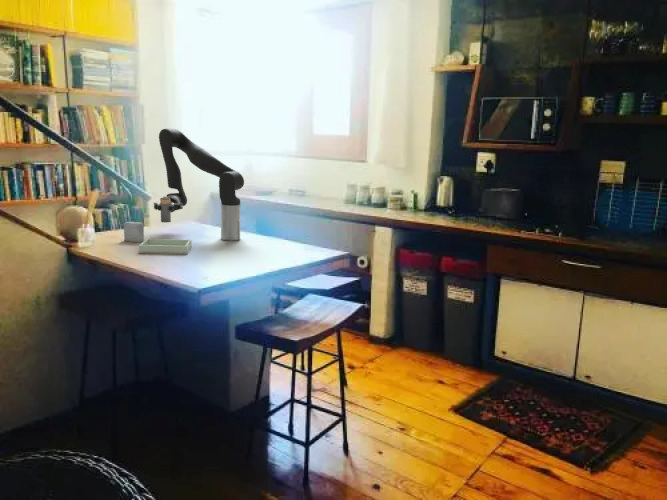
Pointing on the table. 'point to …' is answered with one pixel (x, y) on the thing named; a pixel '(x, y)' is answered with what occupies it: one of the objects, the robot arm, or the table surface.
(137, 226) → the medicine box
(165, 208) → the battery cell
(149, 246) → the trough
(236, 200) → the robot arm
